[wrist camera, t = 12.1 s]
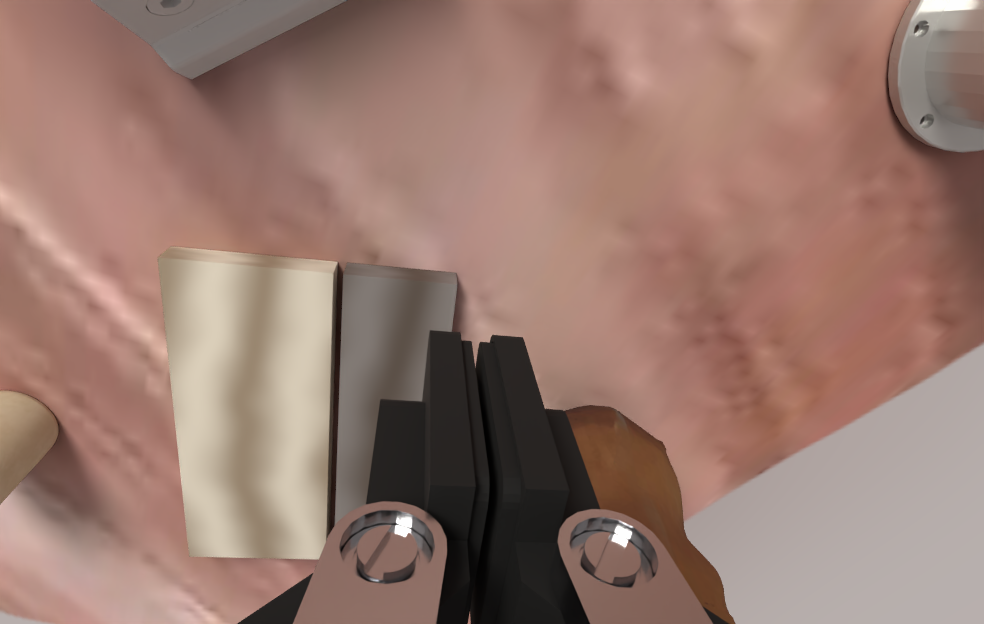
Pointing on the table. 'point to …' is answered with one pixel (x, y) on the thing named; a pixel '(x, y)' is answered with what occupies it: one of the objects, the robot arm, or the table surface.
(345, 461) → the floor board
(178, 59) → the grey flat curved part
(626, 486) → the butternut squash
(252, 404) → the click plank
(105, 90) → the table surface
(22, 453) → the candle
